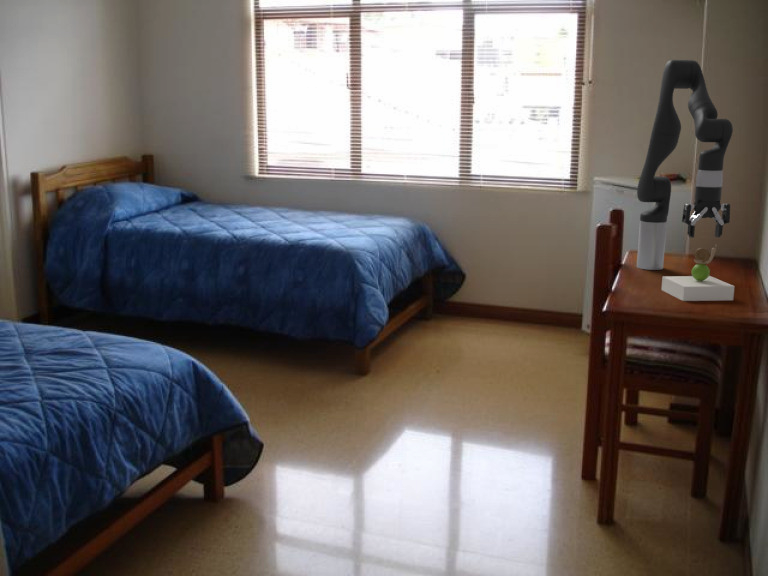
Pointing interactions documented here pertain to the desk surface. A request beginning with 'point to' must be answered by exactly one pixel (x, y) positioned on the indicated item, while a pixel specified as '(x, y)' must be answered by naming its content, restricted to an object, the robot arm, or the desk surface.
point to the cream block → (697, 288)
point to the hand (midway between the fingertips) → (704, 237)
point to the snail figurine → (702, 263)
